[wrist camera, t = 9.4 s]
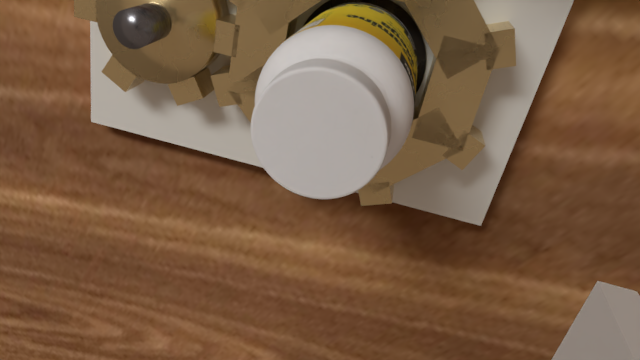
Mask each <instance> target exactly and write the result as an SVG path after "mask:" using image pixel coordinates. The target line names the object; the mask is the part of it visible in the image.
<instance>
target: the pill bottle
mask: <svg viewBox="0 0 640 360" xmlns="http://www.w3.org/2000/svg"><path fill="white" fill-rule="evenodd" d="M417 70H418V62H417V54H416V49H415V45H414V42H413V40H412V37H411V35H410V33H409V32H408V30H407V29H406V27H405V26H404V25H403V23H402V22H401V21H400V20H399V19H398V18H397V17H396V16H395V15H393V14H392V13H390V12H389V11H387V10H386V9H384V8H382V7H379V6H377V5H373V4H370V3H363V2H349V3H344V4H340V5H337V6H334V7H332V8H330V9H328V10H326V11H324V12H322V13H321V14H319V15H318V16H316V17H315V18H314V19H313V20H311V21H310V22H309V23H308V24H306V25H305V26H304V27H303V28H301V29H300V30H299V31H297V32H296V33H295V34H293V35H292V36H291V37H289V38H288V39H287V40H285V41H284V42H283V43H282V44H281V45H280V46H279V47H278V48H277V49H276V50H275V51H274V52H273V53H272V55H271V56H270V57H269V59H268V60H267V62H266V63H265V65H264V67H263V69H262V71H261V73H260V76H259V79H258V82H257V86H256V91H255V107H254V109H253V113H252V117H251V139H252V144H253V148H254V150H255V153H256V156H257V158H258V160H259V162H260V163H261V165H262V166H263V168H264V169H265V170H266V172H267V173H268V174H269V175H270V176H271V177H272V178H273V179H274V180H275V181H276V182H277V183H279V184H280V185H281V186H283V187H284V188H286V189H288V190H290V191H291V192H293V193H296V194H298V195H301V196H305V197H309V198H313V199H335V198H340V197H344V196H347V195H349V194H352V193H354V192H356V191H358V190H359V189H361V188H363V187H364V186H365V185H366V184H367V183H369V182H370V181H371V180H372V179H373V178H374V176H375V175H376V174H377V173H378V171H379V170H380V169H382V168H383V167H384V166H386V165H387V164H388V163H389V162H390V161H391V160H392V159H393V158H394V157H395V156H396V155H397V154H398V152H399V151H400V149H401V148H402V146H403V145H404V143H405V141H406V139H407V137H408V134H409V132H410V129H411V126H412V122H413V116H414V107H415V97H416V85H417V84H416V83H417Z"/></svg>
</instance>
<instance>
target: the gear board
mask: <svg viewBox="0 0 640 360" xmlns="http://www.w3.org/2000/svg"><path fill="white" fill-rule="evenodd" d="M226 1H227V4H228V9H229V14H234V15H236V12H237V6H236V5H234V4H233V3H232V2H230V1H229V0H226ZM327 1H329V0H321V1H320V2H318V3H317V4H315V5H314V6H312V7H311V8H309V9H308V10H306V11H305V12H304V13H302V14H301V15H299V16H298V18H297V23H296V29H295V33H296V32H297V31H299V30H300V29H301V28H302V27H303V25H304V23H305V22H306V21H307V19H308V18H309V17H310V15H311V14H312V13H313V12H314V11H315V10H316V9H317V8H319V7H320V6H321V5H323V4H324V3H326V2H327ZM392 1H393V2H395V3H396V4H398V5H399V6H401V7H402V8H403V9H404V10H405V11H406V12H407V13H408V14H409V15H410V16H411V17H412V18H413V16H412V15H411V13H410V11H409V9H408V8H407V6H406V4H405V2H401V1H397V0H392ZM573 1H574V0H474V2H475V3H476V5H477V7H478V9H479V11H480V13H481V15H482V17H483V19H484V21H485V23H486V25H487V24H493V23H499V22H505V21H509V22H510V23H511V24H512V26H513V27H514V28H515V48H516V66H512V67H505V68H498V69H492V72H491V74H490V77H489V80H488V83H487V85H486V88H485V91H484V94H483V96H482V99H481V102H480V105H479V107H478V110H477V113H476V116H475V118H474V121H473V124H472V125H473V126H475V127H476V128H477V129H479V130H480V131H481V132H482V135H483V139H484V142H485V147H484V148H483V149H482V150H481V151H480V152H479V153H478V154H477V155H476V156H475V157H474V158H473V160H472V161H471V162H470V163H469V164H468V165H467V166H466V167H465V168H464V169H463V170H461V169H460V168H458V167H457V166H456V165H454V164H453V163H451V162H450V161H449V160H447V159H444V160H442V161H440V162H438V163H436V164H434V165H432V166H430V167H428V168H426V169H424V170H422V171H420V172H418V173H416V174H413V175H411V176H409V177H407V178H405V179H403V180H401V181H399V182H397V183H395V184H394V192H393V200H392V202H393V203H397V204H401V205H404V206H408V207H412V208H416V209H419V210H423V211H427V212H430V213H434V214H438V215H442V216H445V217H449V218H453V219H457V220H460V221H464V222H468V223H472V224H475V225H479V226H481V225H482V222H483V220H484V217H485V215H486V212H487V210H488V208H489V205H490V203H491V200H492V198H493V195H494V193H495V191H496V188H497V186H498V183H499V181H500V178H501V176H502V174H503V171H504V169H505V166H506V164H507V161H508V159H509V157H510V154H511V152H512V149H513V147H514V145H515V142H516V140H517V137H518V135H519V132H520V130H521V128H522V125H523V123H524V120H525V118H526V115H527V113H528V111H529V108H530V106H531V103H532V101H533V98H534V96H535V94H536V91H537V89H538V86H539V84H540V81H541V79H542V77H543V74H544V72H545V69H546V67H547V65H548V62H549V60H550V57H551V55H552V52H553V50H554V48H555V45H556V43H557V40H558V38H559V35H560V33H561V31H562V28H563V26H564V23H565V21H566V18H567V16H568V14H569V11H570V9H571V6H572V4H573ZM413 20H414V18H413ZM414 21H415V20H414ZM415 23H416V22H415ZM416 25H417V24H416ZM417 26H418V25H417ZM418 28H419V27H418ZM419 30H420V29H419ZM420 32H421V31H420ZM90 34H91V122H94V123H98V124H102V125H105V126H109V127H113V128H117V129H120V130H124V131H128V132H132V133H135V134H139V135H143V136H146V137H150V138H154V139H158V140H161V141H165V142H169V143H173V144H176V145H180V146H184V147H188V148H191V149H195V150H199V151H203V152H206V153H210V154H214V155H217V156H221V157H225V158H229V159H232V160H236V161H240V162H244V163H247V164H251V165H255V166H259V167H262V168H263V166H262V165H261V163H260V162H259V160H258V158H257V156H256V153H255V150H254V148H253V144H252V139H251V123H250V121H249V120H248V119H247V117H246V116H245V114H244V113H243V112H242V110H241V109H240V107H239V106H238V104H237V105H230V106H223V107H219V104H218V101H217V97H216V94H215V90H213V91H212V92H211V93H209V94H208V95H207V96H205V97H204V98H202V99H199V100H196V101H192V102H189V103H185V104H182V105H179V106H177V104H176V102H175V100H174V98H173V95H172V93H171V91H170V89H169V86H168V84H162V83H155V82H151V81H148V80H144V82H143V83H141V84H139V85H138V86H136V87H134V88H132V89H130V90H128V91H127V92H124V91H123V90H122V89H121V88H120V87H118V86H117V85H116V84H115V83H114V82H113V81H111V80H110V79H109V78H108V77H107V76H106V75H104V74H103V73H102V72H101V71H102V70H103V68H104V67H105V65H106V64H107V62H108V61H109V59H110V58H111V56H112V53H111V52H110V50H109V49H108V48H107V46H106V44H105V42H104V40H103V38H102V36H101V33H100V30H99V27H98V24H97V22H93V21H90ZM421 35H422V38H423V41H424V45H425V51H426V66H425V73H424V77H423V80H422V83H421V85H420V88H419V90H418V91H417V93H416V97H415V107H417V106H418V105H419V103H420V100H421V96H422V93H423V90H424V86H425V83H426V80H427V77H428V73H429V70H430V67H431V64H432V60H433V57H434V54H433V52H432V50H431V49H430V47H429V45H428V43H427V41H426V40H425V38H424V36H423V34H422V33H421ZM230 62H231V56H228V55H224V54H220V55H219V56H218V58H217V59H216V60H215V61H214V62H213V63H212V64H210V65H209V66H208V67H206V68H209V70H210V73H211V75H212V74H213V73H215V72H216V71H218V70H219V69H221V68H222V67H223V66H228V65H230ZM415 107H414V108H415ZM356 193H359V192H358V191H356Z"/></svg>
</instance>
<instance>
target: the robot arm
mask: <svg viewBox="0 0 640 360" xmlns="http://www.w3.org/2000/svg"><path fill="white" fill-rule="evenodd" d="M552 360H640V296H639V294H638V292H637V291H633V290H630V289H626V288H622V287H618V286H615V285H611V284H607V283H604V282H600V281H597V283H596V284H595V286H594V288H593V289H592V291H591V293H590V295H589V296H588V298H587V300H586V301H585V303H584V305H583V307H582V308H581V310H580V312H579V313H578V315H577V317H576V319H575V320H574V322H573V324H572V325H571V327H570V329H569V331H568V332H567V334H566V336H565V338H564V339H563V341H562V343H561V344H560V346H559V348H558V350H557V351H556V353H555V355H554V356H553V358H552Z"/></svg>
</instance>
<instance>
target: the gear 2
mask: <svg viewBox="0 0 640 360" xmlns="http://www.w3.org/2000/svg"><path fill="white" fill-rule="evenodd" d="M229 1H230V2H232V3H233V4H234V5H236V6H237V12H236V20H235V24H236V26H237V28H238V27H239V26H238V25H240V29H239V28H238V29H239V36H238V45H237V49H236V48H235V49H236V50H237V53H236V56H235V55H234V56H235V57H234V56H233V55H232V53H231V55H232V56H233V57H232V56H231V62H230V65H228V66H223V67H222V68H221V69H219V70H218V71H216V72H215V73H213V74H212V75H210V76H211V79H212V83H213V86H214V90H215V94H216V97H217V101H218V104H219V107H223V106H230V105H237V104H238V106H239V107H240V109H241V110H242V112H243V113H244V114H245V116H246V117H247V119H248V120H249V121H250V123H251V117H252V113H253V109H254V107H255V91H256V86H257V82H258V79H259V76H260V73H261V71H262V69H263V67H264V65H265V63H266V62H267V60H268V59H269V57H270V56H271V55H272V53H273V52H274V51H275V50H276V49H277V48H278V47H279V46H280V45H281V44H282V43H283V42H284V41H285V40H287V39H288V38H289V37H291V36H292V35H293V34H295V29H296V23H297V18H298V16H299V15H301V14H302V13H304V12H305V11H306V10H308V9H309V8H311V7H312V6H314V5H315V4H317V3H318V2H320V1H321V0H229ZM397 1H401V2H405V4H406V6H407V8H408V9H409V11H410V13H411V15H412V16H413V18H414V20H415V21H414V20H413V18H412V17H411V16H410V15H409V14H408V13H407V12H406V11H405V10H404V9H403V8H402V7H401V6H399V5H398V4H396V3H395V2H393V1H392V0H329V1H327V2H326V3H324V4H323V5H321V6H320V7H319V8H317V9H316V10H315V11H314V12H313V13H312V14H311V15H310V17H309V18H308V19H307V21H306V22H305V23H304V25H303V27H304V26H305V25H306V24H308V23H309V22H310V21H311V20H313V19H314V18H315V17H316V16H318V15H319V14H321V13H322V12H324V11H326V10H328V9H330V8H332V7H334V6H337V5H340V4H344V3H349V2H363V3H370V4H373V5H377V6H379V7H382V8H384V9H386V10H387V11H389V12H390V13H392V14H393V15H395V16H396V17H397V18H398V19H399V20H400V21H401V22H402V23H403V25H404V26H405V27H406V29H407V30H408V32H409V33H410V35H411V37H412V40H413V42H414V45H415V49H416V54H417V62H418V70H417V83H416V84H417V85H416V93H417V91H418V90H419V88H420V85H421V83H422V80H423V77H424V73H425V66H426V51H425V45H424V41H423V38H422V35H421V33H422V34H423V36H424V38H425V40H426V41H427V43H428V45H429V47H430V49H431V50H432V52H433V54H434V57H433V60H432V64H431V67H430V70H429V73H428V77H427V80H426V83H425V86H424V90H423V93H422V96H421V100H420V103H419V105H418V106H417V107H415V108H414V116H413V122H412V126H411V129H410V132H409V134H408V137H407V139H406V141H405V143H404V145H403V146H402V148H401V149H400V151H399V152H398V154H397V155H396V156H395V157H394V158H393V159H392V160H391V161H390V162H389V163H388V164H387V165H386V166H384V167H383V168H382V169H380V170H379V171H378V173H377V174H376V175H375V176H374V178H373V179H372V180H371V181H370V182H369V183H367V184H366V185H365V186H364V187H363V188H361V189H359V190H358V192H359V198H360V203H361V206H367V205H379V204H391V203H392V200H393V192H394V184H395V183H397V182H399V181H401V180H403V179H405V178H407V177H409V176H411V175H413V174H416V173H418V172H420V171H422V170H424V169H426V168H428V167H430V166H432V165H434V164H436V163H438V162H440V161H442V160H444V159H447V160H449V161H450V162H451V163H453V164H454V165H456V166H457V167H458V168H460V169H461V170H463V169H464V168H465V167H466V166H467V165H468V164H469V163H470V162H471V161H472V160H473V158H474V157H475V156H476V155H477V154H478V153H479V152H480V151H481V150H482V149H483V148H484V147H485V142H484V139H483V135H482V132H481V131H480V130H479V129H477V128H476V127H475V126H473V125H472V124H473V121H474V118H475V116H476V113H477V110H478V107H479V105H480V102H481V99H482V96H483V94H484V91H485V88H486V85H487V83H488V80H489V77H490V74H491V72H492V69H498V68H505V67H512V66H516V48H515V28H514V27H513V26H512V24H511V23H510V22H509V21H505V22H499V23H493V24H487V25H486V23H485V21H484V19H483V17H482V15H481V13H480V11H479V9H478V7H477V5H476V3H475V2H474V0H397ZM415 22H416V23H415ZM416 24H417V25H418V26H417V25H416ZM303 27H302V28H303ZM418 27H419V28H418ZM238 29H237V30H238ZM419 29H420V30H419ZM235 31H236V30H235ZM235 31H234V32H235ZM420 31H421V32H420ZM235 34H236V36H237V35H238V34H237V33H235ZM234 38H235V36H234ZM234 38H233V39H234ZM234 41H235V40H233V42H234ZM232 46H233V45H232ZM235 47H236V46H235ZM232 48H234V47H232ZM264 170H265V169H264Z"/></svg>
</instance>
